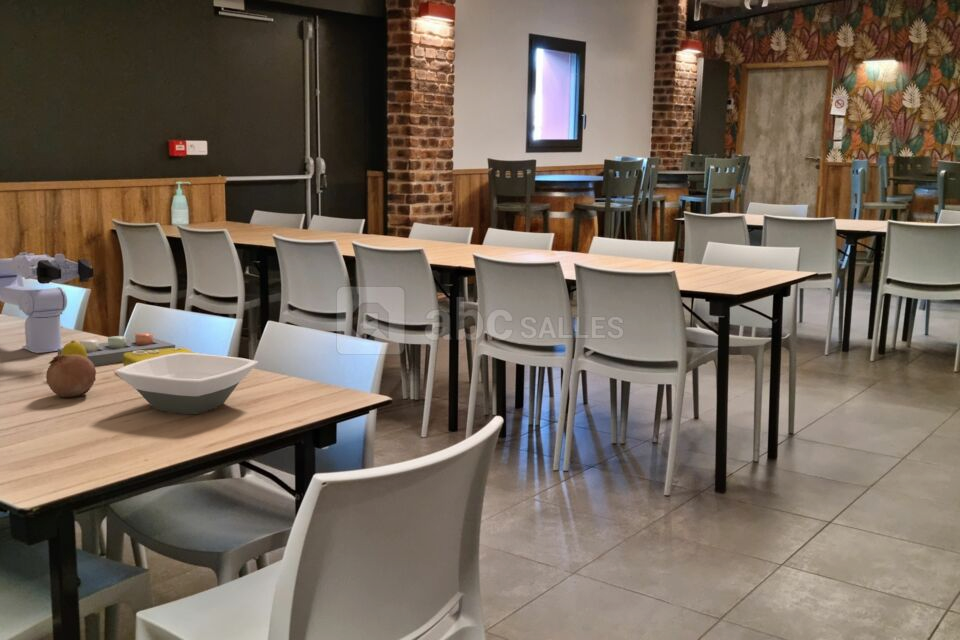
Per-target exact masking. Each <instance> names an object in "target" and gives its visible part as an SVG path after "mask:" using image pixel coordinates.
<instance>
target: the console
mask: <svg viewBox="0 0 960 640" xmlns="http://www.w3.org/2000/svg"><path fill="white" fill-rule="evenodd" d="M98 345H99V351H97V352H89V353H87V358H88V359H89V360H90V361H91V362H92V363H93V365H94V367H95V366H96V367H97V366H102V365H111V364H117V362H118V363H123V354H124V353H128V352H133V351H138V350H144V351H147V350H157V349H167V348H176V344H174V343H171V342H168V341H167V342H166V341H165V340H161V339H157V338H154V337H153V344H152V345H144V346H138V345H136V344H135V338H133V339H126V348H120V349H113V350H112V349H109V348H108V342H103V343H102V342H100V343H98ZM62 349H63V348H59V349H58V351H57V355H61V352H62ZM110 363H111V364H110Z"/></svg>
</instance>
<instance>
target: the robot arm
mask: <svg viewBox="0 0 960 640" xmlns="http://www.w3.org/2000/svg"><path fill="white" fill-rule="evenodd" d="M23 278H24V279H25V280H30V279H37V282H38V283H39V284H41V285H42V284H50V283H51V282H53V283H56V284H64V283H66V282H69V281H71V280H74V279H76V278H78V282H79V283H85V282H89V281H90V279H91V278H94V268H93V267H92V265H90V263H89V259H86V258H78V259H77V262H75V261H73V260H69V259H67V258H65V255H64V254H62V253H56V254H54V257H51V256H50V255H49V254H47V253H45V254H38V255H35V253H33V252H32V253H31V252H30V253H27V252H19V254H18V255H15V256H14V257H9V258H7V257H6V258H0V302H1V303H6V304H9V305H15V306H17V307H18V310H20V311H22V313H23V314H24V315H25V316H27V318H26V319H25V322H24V334H25V335H24V336H25V345H22V346H21V347H22V349H25V350H27V351H30V352H32V353H34V354H42V353H51V352H58V349H59V348H63V347H64V346H65V345H62V328H61V315H63V312H65V310H66V309H67V306H68V297H67V294H66V291H65V290H64V289H63V288H62V287H60V286H58V287H53V288H42V289H38V288H32V287H27V286H24V279H23Z"/></svg>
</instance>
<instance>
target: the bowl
mask: <svg viewBox="0 0 960 640" xmlns="http://www.w3.org/2000/svg"><path fill="white" fill-rule="evenodd" d="M258 363H259V361H258V360H254V359H249V358H243V357H235V356H227V355H218V354H217V355H216V354H208V353H197V352H195V353H174V354H168V355H163V356H159V357H155V358H150V359H146V360H142V361H139V362H136V363H133V364H130V365H127V366H125V367H124V366H122V367H120V368H118V369H116V370H114V373H115V374H116V375H117V376H118V377H120V378H121V379H122V380H123V381H125V383H127V384H128V385H130V387H132V388H133V389H134V390H136V391H137V392H138V393H139V394H140V395H141V396H142V397H143V398H144V400H145V401H147V402H148V404H149V405H150V406H151V408H153V409H154V410H156V411H157V410H158V411H160V412H166V413H167V412H168V413H173V414H181V415H198V413H199V414H202V412H203V413H206V412H209V411H212V410H214V409H216V408H215V407H217V408H218V406H219V407H220V405H221V404H222V405H224V404H225V402H226V401H227V400H228V398H229V397H230V396H231V394H232V393H233V392H234V390H235V389H236V388H237V387H238V385H239V384H240V382H242V380H243V379H245V377H246V376H248V374H249V373H250V372H251V371H252V370H253V369H254V368H255V367H256V366H257V364H258ZM222 405H221V406H222ZM213 408H214V409H213ZM211 409H212V410H211ZM208 410H209V411H208ZM205 411H206V412H205Z"/></svg>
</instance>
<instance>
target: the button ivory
mask: <svg viewBox="0 0 960 640" xmlns="http://www.w3.org/2000/svg"><path fill="white" fill-rule="evenodd" d="M79 343H80V344H82V345H83V346H84V347H85V349H86V352H87V353H89V352H97V351H99V345H98V344H99V340H98V339H95V338H94V339H93V338H92V339H91V338H89V339H81V340H79Z"/></svg>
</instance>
